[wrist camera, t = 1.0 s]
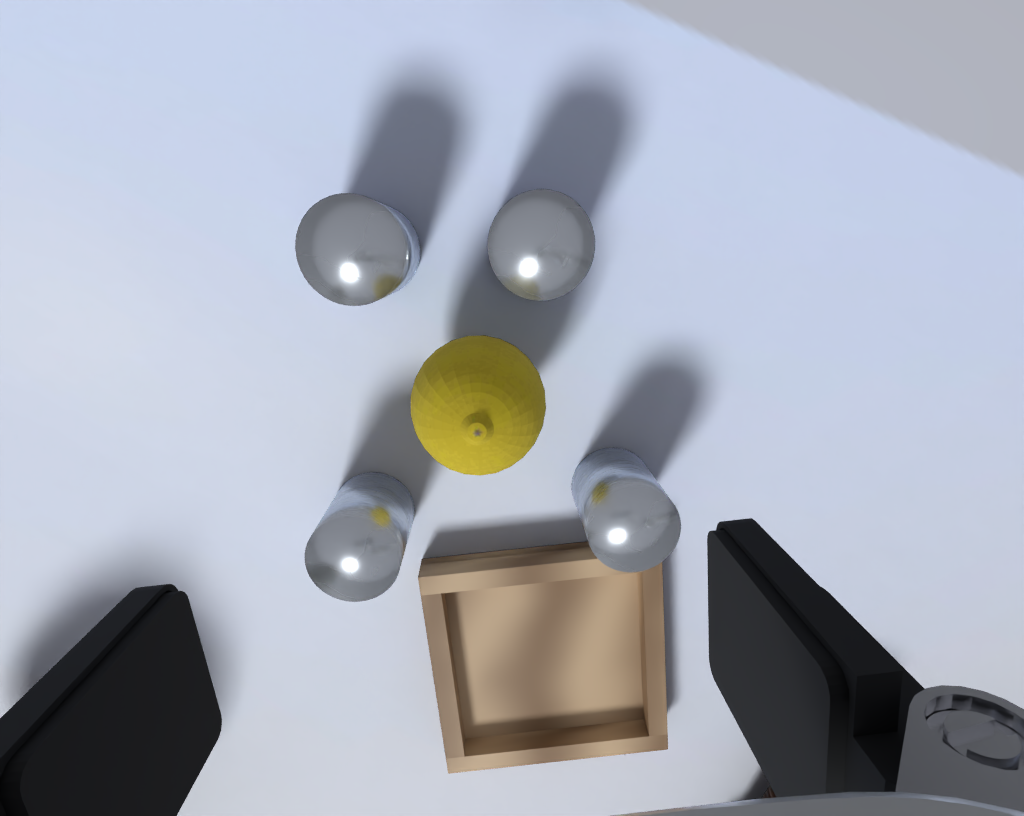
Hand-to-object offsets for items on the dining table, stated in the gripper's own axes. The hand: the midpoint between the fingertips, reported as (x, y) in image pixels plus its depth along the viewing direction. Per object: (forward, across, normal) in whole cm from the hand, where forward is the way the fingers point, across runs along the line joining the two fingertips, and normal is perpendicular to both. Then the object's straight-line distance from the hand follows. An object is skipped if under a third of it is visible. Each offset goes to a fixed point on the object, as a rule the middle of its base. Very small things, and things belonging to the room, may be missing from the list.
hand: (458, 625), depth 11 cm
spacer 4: (+18, -6, +6) cm, 20 cm away
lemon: (+19, 0, 0) cm, 19 cm away
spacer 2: (+19, +6, +6) cm, 20 cm away
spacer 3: (+18, -3, -6) cm, 20 cm away
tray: (+18, -2, +15) cm, 24 cm away
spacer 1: (+19, +4, -7) cm, 20 cm away
